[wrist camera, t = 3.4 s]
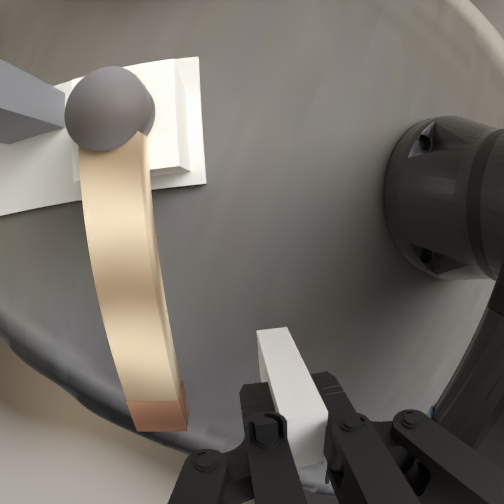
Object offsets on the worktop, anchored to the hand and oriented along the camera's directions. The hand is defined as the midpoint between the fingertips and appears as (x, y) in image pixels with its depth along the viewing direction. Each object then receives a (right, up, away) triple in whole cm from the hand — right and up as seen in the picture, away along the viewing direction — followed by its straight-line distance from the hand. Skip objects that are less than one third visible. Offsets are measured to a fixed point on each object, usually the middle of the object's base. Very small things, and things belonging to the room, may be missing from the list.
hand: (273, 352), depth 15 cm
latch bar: (-7, +4, +1) cm, 9 cm away
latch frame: (-15, +14, +6) cm, 21 cm away
